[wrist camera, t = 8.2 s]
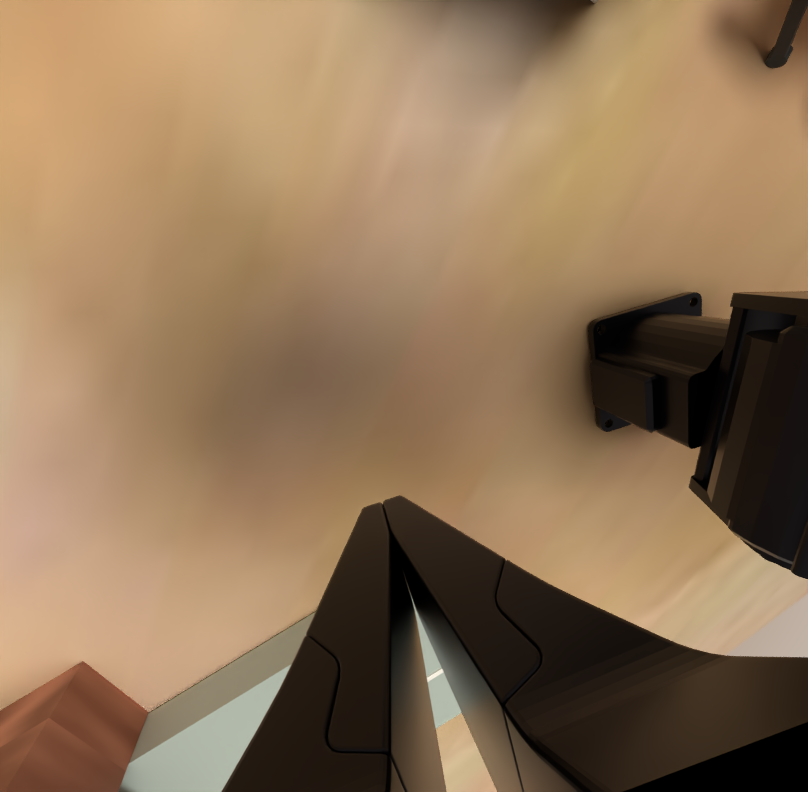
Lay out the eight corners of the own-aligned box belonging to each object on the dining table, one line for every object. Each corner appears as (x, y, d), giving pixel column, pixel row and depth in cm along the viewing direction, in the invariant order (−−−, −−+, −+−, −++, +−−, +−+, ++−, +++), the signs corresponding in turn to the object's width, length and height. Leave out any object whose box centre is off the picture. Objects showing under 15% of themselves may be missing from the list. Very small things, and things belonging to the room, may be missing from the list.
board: (423, 545, 24) (435, 577, 21) (492, 647, 27) (509, 684, 25) (91, 748, 23) (64, 804, 21) (204, 825, 26) (193, 881, 24)
